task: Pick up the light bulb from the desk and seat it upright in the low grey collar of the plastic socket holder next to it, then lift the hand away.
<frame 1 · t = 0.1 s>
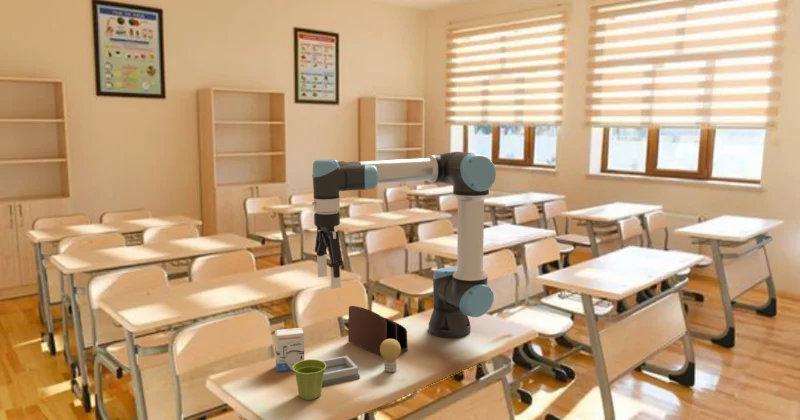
hand: (328, 282, 181), 28 cm above the table, tool pointing down, fingers open, 13 cm apart
light bulb: (390, 371, 184), on the table
plant pot: (310, 396, 169), on the table
socket holder: (332, 374, 182), on the table
letter holder: (377, 347, 204), on the table
ink box: (290, 367, 188), on the table
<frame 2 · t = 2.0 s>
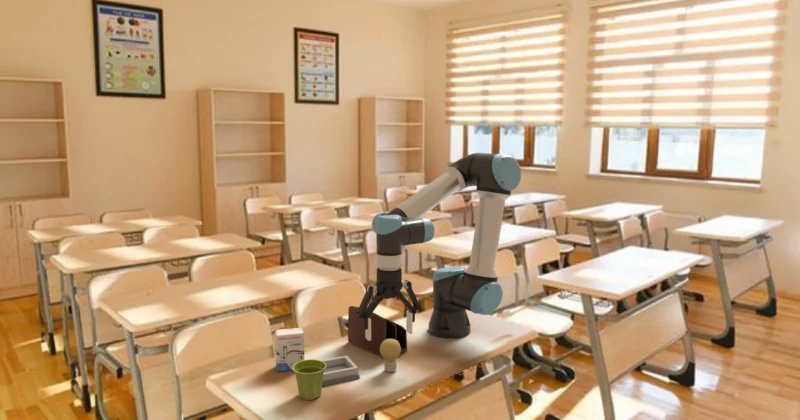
hand: (389, 335, 182), 11 cm above the table, tool pointing down, fingers open, 13 cm apart
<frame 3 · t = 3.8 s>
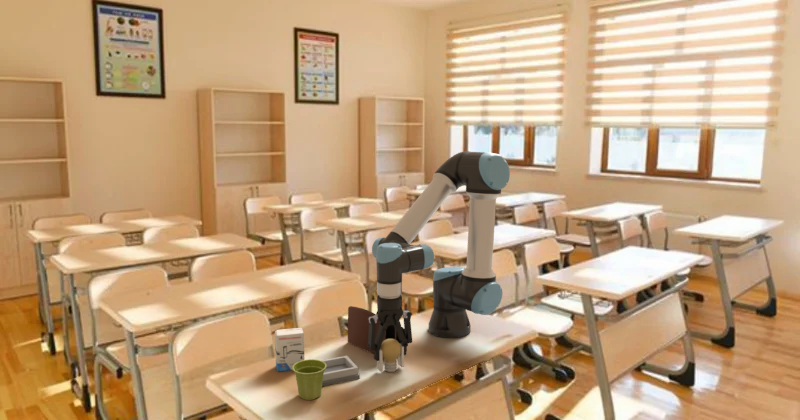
hand: (390, 367, 184), 1 cm above the table, tool pointing down, fingers closed on light bulb, 6 cm apart
light bulb: (390, 371, 184), on the table, touching gripper
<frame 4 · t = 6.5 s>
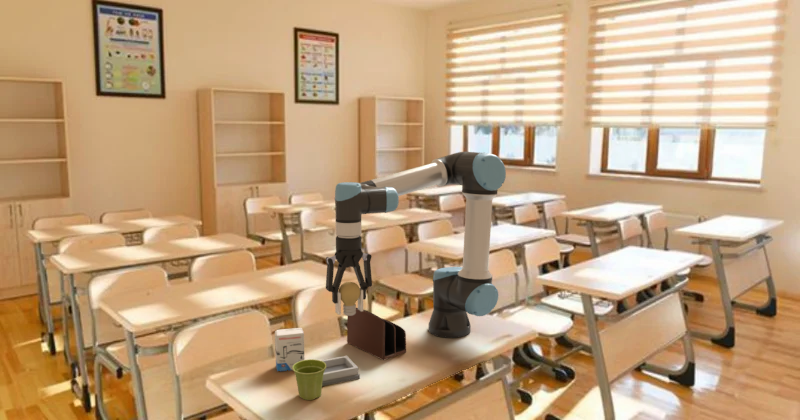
hand: (349, 311, 179), 20 cm above the table, tool pointing down, fingers closed on light bulb, 6 cm apart
light bulb: (349, 315, 179), point 18 cm above the table, touching gripper
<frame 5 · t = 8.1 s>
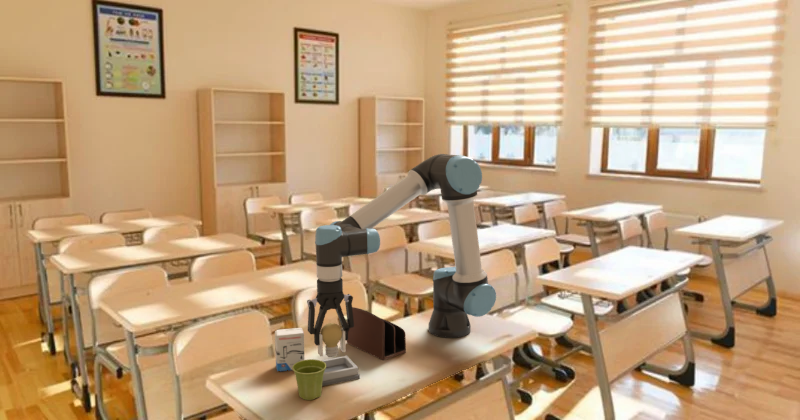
hand: (331, 352, 181), 7 cm above the table, tool pointing down, fingers closed on light bulb, 6 cm apart
light bulb: (331, 356, 181), point 6 cm above the table, touching gripper
when the fingers open (3 cm above the table, at t = 9.2 s): light bulb drops 1 cm, resting on socket holder.
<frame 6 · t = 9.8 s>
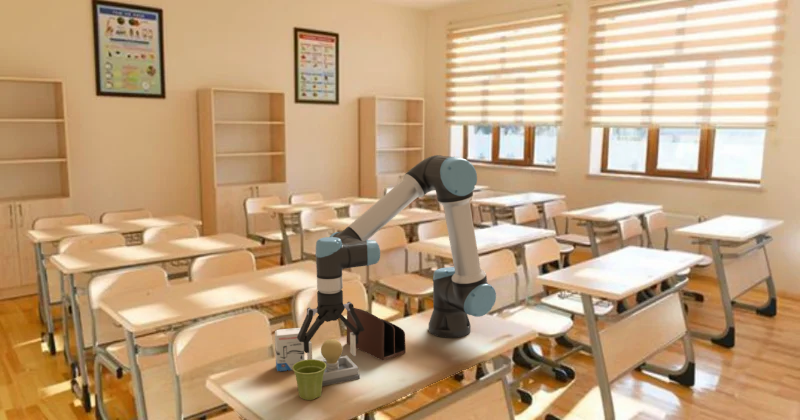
hand: (331, 358, 181), 5 cm above the table, tool pointing down, fingers open, 13 cm apart
light bulb: (332, 372, 182), point 1 cm above the table, touching socket holder
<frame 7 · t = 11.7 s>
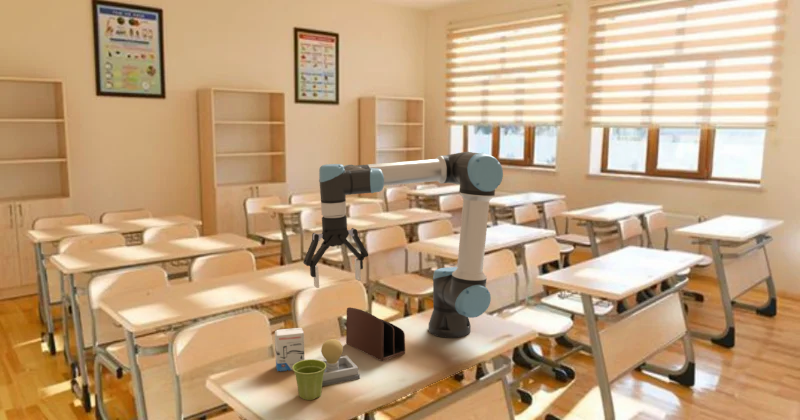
hand: (337, 283, 186), 26 cm above the table, tool pointing down, fingers open, 13 cm apart
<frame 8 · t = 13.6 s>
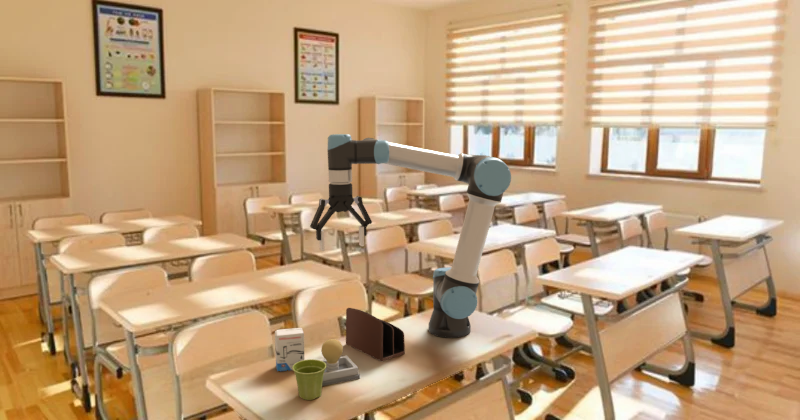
hand: (342, 247, 196), 35 cm above the table, tool pointing down, fingers open, 13 cm apart
at the end: light bulb 0.1 cm off-centre on the socket holder, point 0.8 cm above the socket holder's base; light bulb tilted 0°; the gripper is holding nothing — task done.
